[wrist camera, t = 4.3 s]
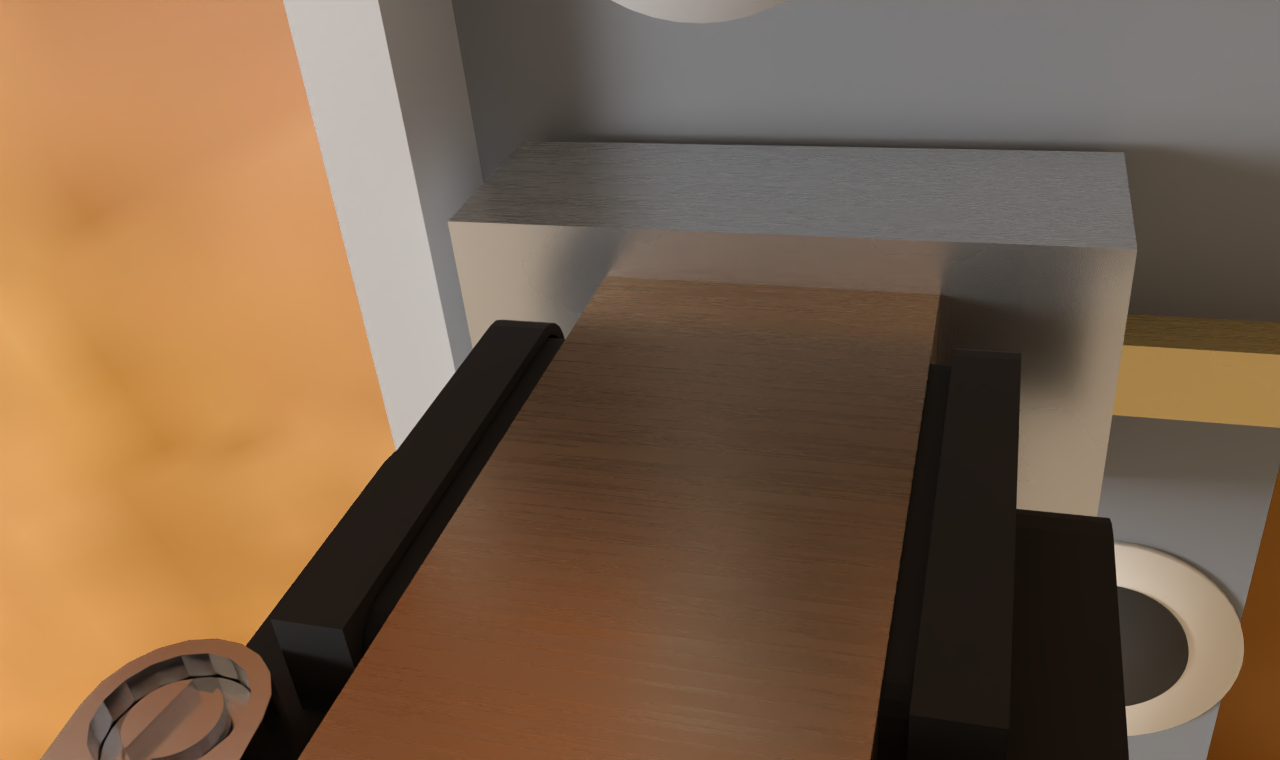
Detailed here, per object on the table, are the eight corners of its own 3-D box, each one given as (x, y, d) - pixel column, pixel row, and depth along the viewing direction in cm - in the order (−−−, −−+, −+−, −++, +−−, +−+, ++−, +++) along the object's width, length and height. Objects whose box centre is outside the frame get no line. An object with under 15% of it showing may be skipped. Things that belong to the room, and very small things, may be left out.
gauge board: (318, -461, 12) (-122, -489, 7) (1507, -631, 9) (1967, -846, 4) (555, 755, 21) (427, 1059, 17) (1158, 861, 18) (1193, 1258, 14)
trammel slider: (524, 141, 13) (-12, 710, 6) (1459, 158, 10) (2157, 1126, 4) (569, 443, 15) (205, 1096, 8) (1351, 517, 12) (1680, 1521, 6)
